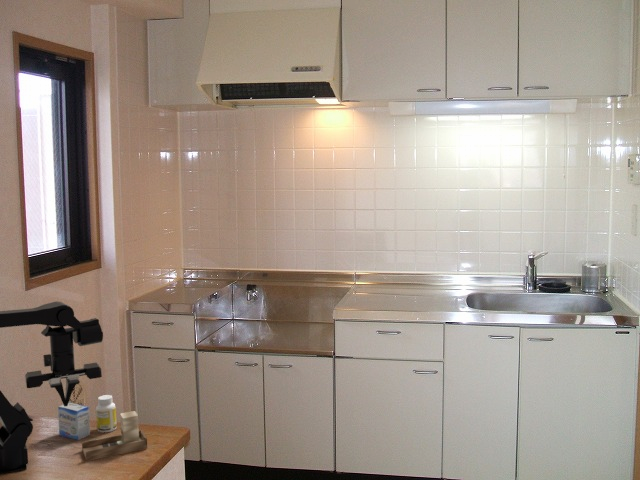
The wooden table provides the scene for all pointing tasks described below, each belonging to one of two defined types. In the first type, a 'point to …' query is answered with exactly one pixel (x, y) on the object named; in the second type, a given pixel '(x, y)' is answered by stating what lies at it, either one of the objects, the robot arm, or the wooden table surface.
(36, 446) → the wooden table surface
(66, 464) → the wooden table surface
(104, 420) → the supplement bottle
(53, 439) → the wooden table surface
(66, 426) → the medicine box
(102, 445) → the box
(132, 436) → the cream block
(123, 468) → the wooden table surface
